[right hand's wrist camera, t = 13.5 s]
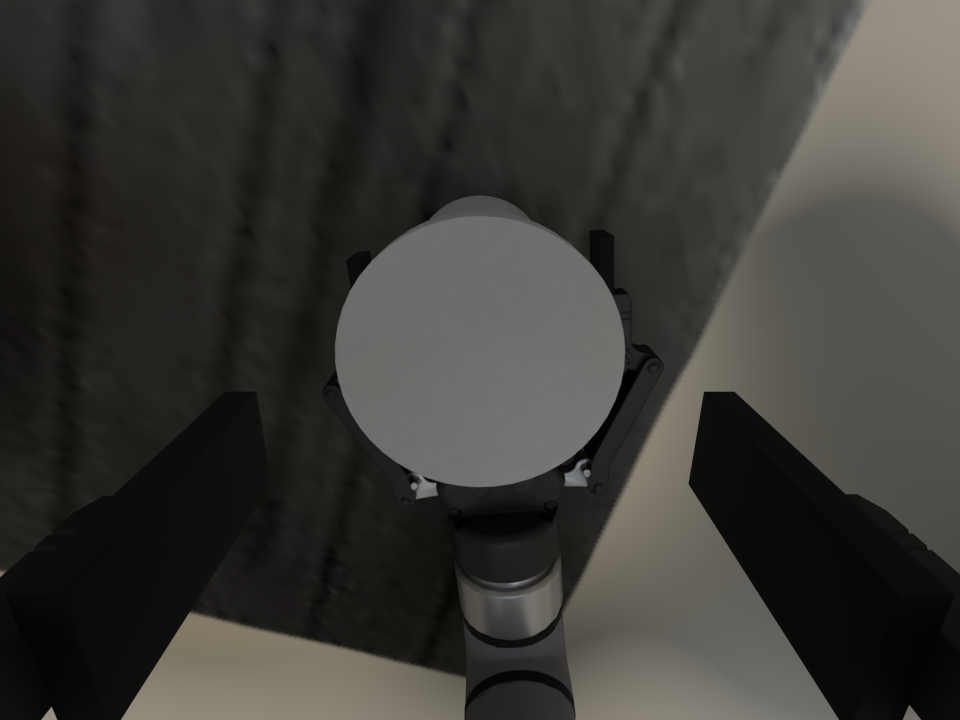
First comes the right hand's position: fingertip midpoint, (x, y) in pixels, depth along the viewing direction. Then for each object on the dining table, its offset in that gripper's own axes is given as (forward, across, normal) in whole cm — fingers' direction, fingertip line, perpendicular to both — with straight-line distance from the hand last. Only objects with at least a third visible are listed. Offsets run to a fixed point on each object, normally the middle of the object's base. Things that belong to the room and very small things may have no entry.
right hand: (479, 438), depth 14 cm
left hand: (+18, 0, -2) cm, 18 cm away
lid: (+5, 0, 0) cm, 5 cm away
